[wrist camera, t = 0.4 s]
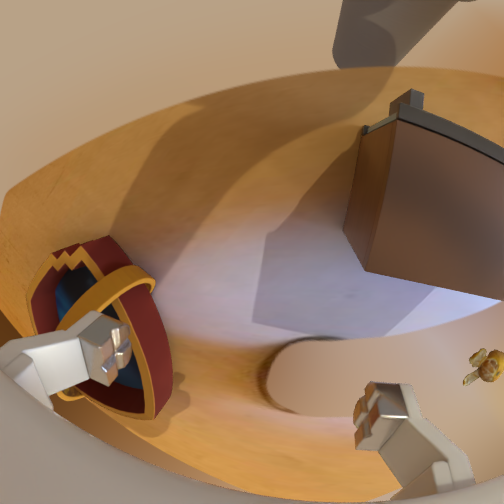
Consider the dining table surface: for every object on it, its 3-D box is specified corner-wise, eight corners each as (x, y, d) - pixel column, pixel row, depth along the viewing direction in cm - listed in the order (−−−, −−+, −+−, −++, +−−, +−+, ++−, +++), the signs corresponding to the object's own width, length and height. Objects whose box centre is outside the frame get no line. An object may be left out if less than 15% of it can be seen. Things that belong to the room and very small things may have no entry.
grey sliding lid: (370, 107, 26) (403, 79, 15) (486, 151, 24) (544, 153, 13) (367, 133, 27) (399, 117, 16) (483, 175, 25) (541, 185, 14)
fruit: (472, 349, 32) (481, 362, 29) (507, 338, 31) (516, 349, 27) (460, 386, 35) (467, 399, 31) (494, 374, 33) (502, 386, 29)
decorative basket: (99, 197, 38) (16, 208, 24) (236, 342, 36) (179, 416, 22) (53, 322, 50) (3, 347, 36) (140, 422, 48) (98, 466, 34)
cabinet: (362, 125, 28) (399, 101, 15) (516, 186, 25) (579, 202, 12) (342, 230, 31) (365, 272, 19) (495, 270, 29) (549, 311, 16)
